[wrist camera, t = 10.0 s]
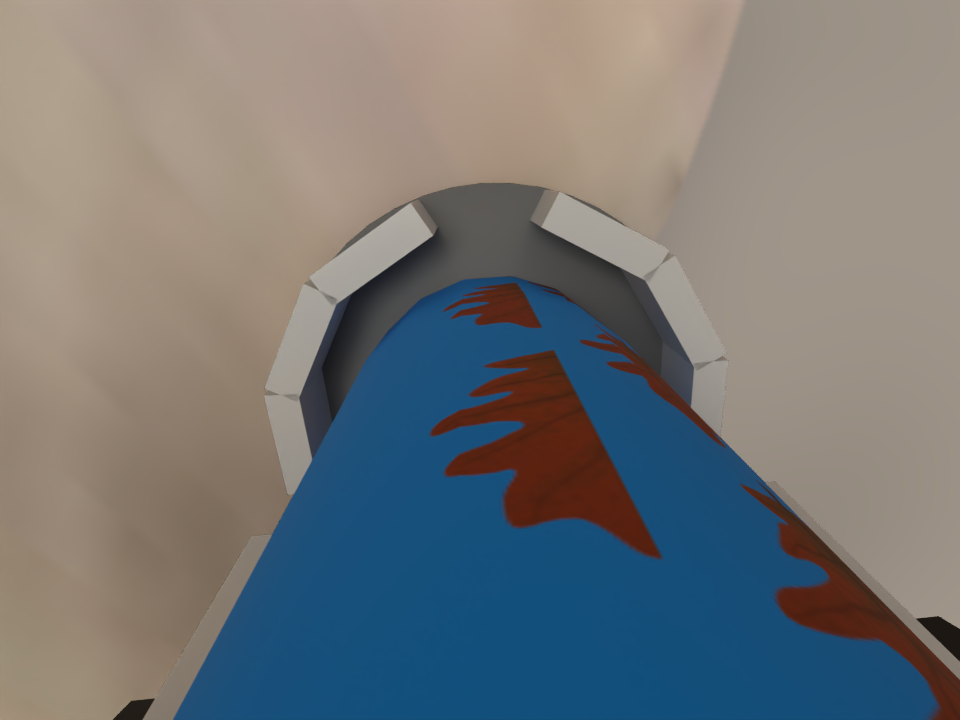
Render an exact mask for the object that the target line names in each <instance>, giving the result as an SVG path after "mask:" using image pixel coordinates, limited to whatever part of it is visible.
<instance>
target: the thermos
mask: <svg viewBox="0 0 960 720" xmlns="http://www.w3.org/2000/svg"><path fill="white" fill-rule="evenodd" d="M173 720H960V680H959V678H958V677H957V676H956V675H955V674H954V673H953V672H952V671H951V670H950V669H949V668H948V667H947V666H946V665H945V664H944V663H943V662H942V661H941V660H940V659H939V658H938V657H937V656H936V655H935V654H934V653H933V652H932V651H931V650H930V649H929V648H928V647H927V646H926V645H925V644H924V643H923V642H922V641H921V640H920V639H919V638H918V637H917V636H916V635H915V634H914V633H913V632H912V631H911V630H910V629H909V628H908V627H907V626H906V625H905V624H904V623H903V622H902V621H901V620H900V619H899V618H898V617H897V616H896V615H895V614H894V613H893V612H892V611H891V610H890V609H889V608H888V607H887V606H886V605H885V604H884V603H883V602H882V601H881V600H880V599H879V597H878V596H877V595H876V594H875V593H874V592H873V591H872V590H871V589H870V588H869V587H868V586H867V585H866V584H865V583H864V582H863V581H862V580H861V579H860V578H859V577H858V576H857V575H856V574H855V573H854V572H853V571H852V570H851V569H850V568H849V567H848V566H847V565H846V564H845V563H844V562H843V561H842V560H841V559H840V558H839V557H838V556H837V555H836V554H835V553H834V552H833V551H832V550H831V549H830V548H829V547H828V546H827V545H826V544H825V543H824V542H823V541H822V540H821V539H820V538H819V537H818V536H817V535H816V534H815V533H814V532H813V531H812V530H811V529H810V528H809V527H808V526H807V525H806V524H805V523H804V522H803V521H802V520H801V519H800V518H799V517H798V515H797V514H796V513H795V512H794V511H793V510H792V509H791V508H790V507H789V506H788V505H787V504H786V503H785V502H784V501H783V500H782V499H781V498H780V497H779V496H778V495H777V494H776V493H775V492H774V491H773V490H772V489H771V488H770V487H769V486H768V485H767V484H766V483H765V482H764V481H763V480H762V479H761V478H760V477H759V476H758V475H757V474H756V473H755V472H754V471H753V470H752V469H751V468H750V467H749V466H748V465H747V464H746V463H745V462H744V461H743V460H742V459H741V458H740V457H739V456H738V455H737V454H736V453H735V452H734V451H733V450H732V449H731V448H730V447H729V446H728V445H727V444H726V443H725V442H724V441H723V440H722V439H721V438H720V437H719V436H718V434H717V433H716V432H715V431H714V430H713V429H712V428H711V427H710V426H709V425H708V424H707V423H706V422H705V421H704V420H703V419H702V418H701V417H700V416H699V415H698V414H697V413H696V412H695V411H694V410H693V409H692V408H691V407H690V406H689V405H688V404H687V403H686V402H685V401H684V400H683V399H682V398H681V397H680V396H679V395H678V394H677V393H676V392H675V391H674V390H673V389H672V388H671V387H670V386H669V385H668V384H667V383H666V382H665V381H664V380H663V379H662V378H661V377H660V376H659V375H658V374H657V373H656V372H655V371H654V370H653V369H652V368H651V367H650V366H649V365H648V364H647V363H646V362H645V361H644V360H643V359H642V358H641V357H640V356H639V355H638V354H637V352H636V351H635V350H634V349H633V348H632V347H631V346H630V345H629V344H628V343H627V342H625V341H624V340H623V339H621V338H620V337H619V336H618V335H616V334H615V333H614V332H612V331H611V330H610V329H609V328H607V327H606V326H605V325H604V324H602V323H601V322H600V321H598V320H597V319H596V318H595V317H593V316H592V315H591V314H589V313H588V312H587V311H585V310H584V309H583V308H581V307H580V306H579V305H577V304H576V303H575V302H573V301H572V300H571V299H569V298H568V297H567V296H565V295H564V294H563V293H561V292H560V291H559V290H557V289H555V288H551V287H548V286H544V285H541V284H537V283H534V282H530V281H527V280H523V279H520V278H516V277H513V276H506V277H492V278H478V279H464V280H461V281H459V282H457V283H455V284H453V285H450V286H448V287H446V288H444V289H441V290H439V291H437V292H435V293H432V294H430V295H428V296H426V297H423V298H421V299H420V300H419V301H418V302H417V303H416V304H415V305H414V306H413V307H412V308H411V309H410V310H409V311H408V312H407V313H406V314H405V315H404V316H402V317H401V318H400V319H399V320H398V321H397V322H396V323H395V324H394V325H393V326H392V327H391V328H390V329H389V330H388V331H387V333H386V334H385V336H384V337H383V338H382V340H381V341H380V342H379V344H378V345H377V346H376V348H375V349H374V350H373V352H372V353H371V354H370V356H369V357H368V358H367V360H366V361H365V363H364V365H363V367H362V368H361V370H360V372H359V374H358V376H357V378H356V380H355V381H354V383H353V385H352V387H351V389H350V391H349V393H348V394H347V396H346V398H345V400H344V402H343V404H342V406H341V408H340V409H339V411H338V413H337V415H336V417H335V419H334V421H333V422H332V424H331V426H330V428H329V430H328V432H327V434H326V435H325V437H324V439H323V441H322V443H321V445H320V447H319V448H318V450H317V452H316V454H315V456H314V458H313V460H312V462H311V463H310V465H309V467H308V469H307V471H306V473H305V475H304V476H303V478H302V480H301V482H300V484H299V486H298V488H297V489H296V491H295V493H294V495H293V497H292V499H291V501H290V502H289V504H288V506H287V508H286V510H285V512H284V514H283V516H282V517H281V519H280V521H279V523H278V525H277V527H276V529H275V530H274V532H273V534H272V536H271V538H270V540H269V542H268V543H267V545H266V547H265V549H264V551H263V553H262V555H261V556H260V558H259V560H258V562H257V564H256V566H255V568H254V570H253V571H252V573H251V575H250V577H249V579H248V581H247V583H246V584H245V586H244V588H243V590H242V592H241V594H240V596H239V597H238V599H237V601H236V603H235V605H234V607H233V609H232V610H231V612H230V614H229V616H228V618H227V620H226V622H225V624H224V625H223V627H222V629H221V631H220V633H219V635H218V637H217V638H216V640H215V642H214V644H213V646H212V648H211V650H210V651H209V653H208V655H207V657H206V659H205V661H204V663H203V664H202V666H201V668H200V670H199V672H198V674H197V676H196V678H195V679H194V681H193V683H192V685H191V687H190V689H189V691H188V692H187V694H186V696H185V698H184V700H183V702H182V704H181V705H180V707H179V709H178V711H177V713H176V715H175V717H174V718H173Z"/></svg>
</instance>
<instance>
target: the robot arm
mask: <svg viewBox="0 0 960 720" xmlns="http://www.w3.org/2000/svg"><path fill="white" fill-rule="evenodd" d="M765 483H766V484H767V485H768V486H769V487H770V488H771V489H772V490H773V491H774V492H775V493H776V494H777V495H778V496H779V497H780V498H781V499H782V500H783V501H784V502H785V503H786V504H787V505H788V506H789V507H790V508H791V509H792V510H793V511H794V512H795V513H796V514H797V515H798V517H799V518H800V519H801V520H802V521H803V522H804V523H805V524H806V525H807V526H808V527H809V528H810V529H811V530H812V531H813V532H814V533H815V534H816V535H817V536H818V537H819V538H820V539H821V540H822V541H823V542H824V543H825V544H826V545H827V546H828V547H829V548H830V549H831V550H832V551H833V552H834V553H835V554H836V555H837V556H838V557H839V558H840V559H841V560H842V561H843V562H844V563H845V564H846V565H847V566H848V567H849V568H850V569H851V570H852V571H853V572H854V573H855V574H856V575H857V576H858V577H859V578H860V579H861V580H862V581H863V582H864V583H865V584H866V585H867V586H868V587H869V588H870V589H871V590H872V591H873V592H874V593H875V594H876V595H877V596H878V597H879V599H880V600H881V601H882V602H883V603H884V604H885V605H886V606H887V607H888V608H889V609H890V610H891V611H892V612H893V613H894V614H895V615H896V616H897V617H898V618H899V619H900V620H901V621H902V622H903V623H904V624H905V625H906V626H907V627H908V628H909V629H910V630H911V631H912V632H913V633H914V634H915V635H916V636H917V637H918V638H919V639H920V640H921V641H922V642H923V643H924V644H925V645H926V646H927V647H928V648H929V649H930V650H931V651H932V652H933V653H934V654H935V655H936V656H937V657H938V658H939V659H940V660H941V661H942V662H943V663H944V664H945V665H946V666H947V667H948V668H949V669H950V670H951V671H952V672H953V673H954V674H955V675H956V676H957V677H958V678H959V680H960V629H959V628H957V627H955V626H954V625H952V624H951V623H949V622H947V621H945V620H944V619H942V618H941V617H939V616H937V617H928V618H918V619H915V618H914V617H913V616H912V615H911V614H910V613H909V612H908V611H907V610H906V609H905V608H904V607H903V606H902V605H901V604H900V603H899V602H898V601H897V600H896V599H895V598H894V597H893V596H892V595H891V594H890V593H889V592H888V591H887V590H886V589H885V588H884V587H882V585H880V583H878V581H876V580H875V579H874V578H873V577H872V576H871V575H870V574H869V573H868V572H867V571H866V570H865V569H864V568H863V567H862V566H861V565H860V564H859V563H858V562H857V561H856V560H855V559H854V558H853V557H852V556H851V555H850V554H849V553H848V552H847V551H846V550H845V549H844V548H843V547H842V546H841V545H840V544H838V543H837V541H835V540H834V539H833V538H832V537H831V536H830V535H829V534H828V533H827V532H826V531H825V530H824V529H823V528H822V527H821V526H820V525H819V524H818V523H817V522H816V521H815V520H814V519H813V518H812V517H811V516H810V515H809V514H808V513H807V512H806V511H805V510H804V509H803V508H802V507H801V506H800V505H799V504H797V502H796V501H794V500H793V499H792V498H791V497H790V496H789V495H788V494H787V493H786V492H785V491H784V490H783V489H782V488H781V487H780V486H779V485H778V484H777V483H776V482H765ZM271 536H272V534H268V535H258V536H251V538H250V539H249V541H248V543H247V544H246V546H245V548H244V549H243V551H242V553H241V554H240V556H239V558H238V560H237V561H236V563H235V565H234V566H233V568H232V570H231V571H230V573H229V575H228V576H227V578H226V580H225V581H224V583H223V585H222V587H221V588H220V590H219V592H218V593H217V595H216V597H215V598H214V600H213V602H212V603H211V605H210V607H209V608H208V610H207V612H206V614H205V615H204V617H203V619H202V620H201V622H200V624H199V625H198V627H197V629H196V630H195V632H194V634H193V635H192V637H191V639H190V641H189V642H188V644H187V646H186V647H185V649H184V651H183V652H182V654H181V656H180V657H179V659H178V661H177V662H176V664H175V666H174V668H173V669H172V671H171V673H170V674H169V676H168V678H167V679H166V681H165V683H164V684H163V686H162V688H161V689H160V691H159V693H158V695H157V696H156V698H155V699H145V700H136V701H131V702H130V703H129V704H128V705H127V706H126V707H125V708H124V709H123V710H122V711H121V712H120V713H119V714H118V715H117V716H116V717H115V718H114V719H113V720H173V718H174V717H175V715H176V713H177V711H178V709H179V707H180V705H181V704H182V702H183V700H184V698H185V696H186V694H187V692H188V691H189V689H190V687H191V685H192V683H193V681H194V679H195V678H196V676H197V674H198V672H199V670H200V668H201V666H202V664H203V663H204V661H205V659H206V657H207V655H208V653H209V651H210V650H211V648H212V646H213V644H214V642H215V640H216V638H217V637H218V635H219V633H220V631H221V629H222V627H223V625H224V624H225V622H226V620H227V618H228V616H229V614H230V612H231V610H232V609H233V607H234V605H235V603H236V601H237V599H238V597H239V596H240V594H241V592H242V590H243V588H244V586H245V584H246V583H247V581H248V579H249V577H250V575H251V573H252V571H253V570H254V568H255V566H256V564H257V562H258V560H259V558H260V556H261V555H262V553H263V551H264V549H265V547H266V545H267V543H268V542H269V540H270V538H271Z"/></svg>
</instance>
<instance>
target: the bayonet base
mask: <svg viewBox="0 0 960 720" xmlns="http://www.w3.org/2000/svg"><path fill="white" fill-rule="evenodd" d="M668 252H669V249H667V248H665V247H664V246H661V245H660V244H658V243H656V242H654V241H652V240H650V239H648V238H647V237H645V236H643V235H641V234H639V233H637V232H635V231H633V230H631V229H630V228H628V227H626V226H625V225H624V224H623V223H621V222H620V221H618V220H617V219H615V218H613V217H612V216H610V215H609V214H607V213H605V212H604V211H602V210H601V209H599V208H597V207H595V206H593V205H591V204H588V203H586V202H584V201H582V200H579V199H577V198H575V197H573V196H570V195H567V194H563V193H562V192H559V191H553V190H549V189H546V188H542V187H535V186H528V185H520V184H513V183H479V184H472V185H465V186H458V187H452V188H448V189H445V190H441V191H438V192H434V193H431V194H427V195H424V196H422V197H419V198H417V199H415V200H413V201H410V202H408V203H406V204H404V205H402V206H399V207H397V208H395V209H393V210H392V211H390V212H388V213H387V214H385V215H384V216H382V217H380V218H379V219H377V220H376V221H374V222H372V223H371V224H369V225H368V226H367V227H366V228H365V229H363V230H362V231H361V232H360V233H359V234H358V235H356V236H355V237H354V238H353V239H352V240H350V241H349V242H348V243H347V244H346V245H345V246H344V247H343V249H342V250H341V251H340V252H339V253H338V254H337V255H336V256H335V258H334V259H333V260H331V261H330V262H329V263H327V264H326V265H324V266H323V267H322V268H320V269H319V270H318V271H316V272H315V273H313V274H312V275H311V276H309V278H310V280H308V281H307V282H305V283H304V284H303V287H302V289H301V292H300V295H299V297H298V300H297V303H296V305H295V308H294V311H293V313H292V316H291V319H290V321H289V324H288V327H287V329H286V332H285V335H284V337H283V340H282V343H281V345H280V348H279V351H278V353H277V356H276V359H275V361H274V364H273V367H272V370H271V372H270V375H269V378H268V380H267V383H266V386H265V388H264V389H266V390H269V391H268V392H267V393H266V394H265V395H264V398H265V402H266V407H267V411H268V415H269V419H270V423H271V428H272V432H273V436H274V440H275V444H276V449H277V453H278V457H279V461H280V465H281V470H282V474H283V478H284V482H285V486H286V491H287V495H289V494H294V493H295V491H296V489H297V488H298V486H299V484H300V482H301V480H302V478H303V476H304V475H305V473H306V471H307V469H308V467H309V465H310V463H311V462H312V460H313V458H314V456H315V454H316V452H317V450H318V448H319V447H320V445H321V443H322V441H323V439H324V437H325V435H326V434H327V432H328V430H329V428H330V426H331V424H332V422H333V421H334V419H335V417H336V415H337V413H338V411H339V409H340V408H341V406H342V404H343V402H344V400H345V398H346V396H347V394H348V393H349V391H350V389H351V387H352V385H353V383H354V381H355V380H356V378H357V376H358V374H359V372H360V370H361V368H362V367H363V365H364V363H365V361H366V360H367V358H368V357H369V356H370V354H371V353H372V352H373V350H374V349H375V348H376V346H377V345H378V344H379V342H380V341H381V340H382V338H383V337H384V336H385V334H386V333H387V331H388V330H389V329H390V328H391V327H392V326H393V325H394V324H395V323H396V322H397V321H398V320H399V319H400V318H401V317H402V316H404V315H405V314H406V313H407V312H408V311H409V310H410V309H411V308H412V307H413V306H414V305H415V304H416V303H417V302H418V301H419V300H420V299H421V298H423V297H426V296H428V295H430V294H432V293H435V292H437V291H439V290H441V289H444V288H446V287H448V286H450V285H453V284H455V283H457V282H459V281H461V280H464V279H478V278H492V277H506V276H513V277H516V278H520V279H523V280H527V281H530V282H534V283H537V284H541V285H544V286H548V287H551V288H555V289H557V290H559V291H560V292H561V293H563V294H564V295H565V296H567V297H568V298H569V299H571V300H572V301H573V302H575V303H576V304H577V305H579V306H580V307H581V308H583V309H584V310H585V311H587V312H588V313H589V314H591V315H592V316H593V317H595V318H596V319H597V320H598V321H600V322H601V323H602V324H604V325H605V326H606V327H607V328H609V329H610V330H611V331H612V332H614V333H615V334H616V335H618V336H619V337H620V338H621V339H623V340H624V341H625V342H627V343H628V344H629V345H630V346H631V347H632V348H633V349H634V350H635V351H636V352H637V354H638V355H639V356H640V357H641V358H642V359H643V360H644V361H645V362H646V363H647V364H648V365H649V366H650V367H651V368H652V369H653V370H654V371H655V372H656V373H657V374H658V375H659V376H660V377H661V378H662V379H663V380H664V381H665V382H666V383H667V384H668V385H669V386H670V387H671V388H672V389H673V390H674V391H675V392H676V393H677V394H678V395H679V396H680V397H681V398H682V399H683V400H684V401H685V402H686V403H687V404H688V405H689V406H690V407H691V408H692V409H693V410H694V411H695V412H696V413H697V414H698V415H699V416H700V417H701V418H702V419H703V420H704V421H705V422H706V423H707V424H708V425H709V426H710V427H711V428H712V429H713V430H714V431H715V432H716V433H717V434H718V436H719V437H720V435H721V427H722V417H723V408H724V397H725V388H726V379H727V370H728V360H727V359H726V358H724V357H723V355H725V354H727V352H726V350H725V348H724V346H723V345H722V343H721V341H720V339H719V337H718V335H717V333H716V331H715V329H714V327H713V325H712V324H711V322H710V320H709V318H708V316H707V314H706V312H705V310H704V309H703V307H702V305H701V303H700V301H699V300H698V297H697V295H696V293H695V292H694V290H693V288H692V286H691V284H690V282H689V280H688V278H687V276H686V275H685V273H684V271H683V269H682V267H681V265H680V263H679V261H678V259H677V258H676V256H675V255H673V254H670V253H668Z"/></svg>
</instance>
